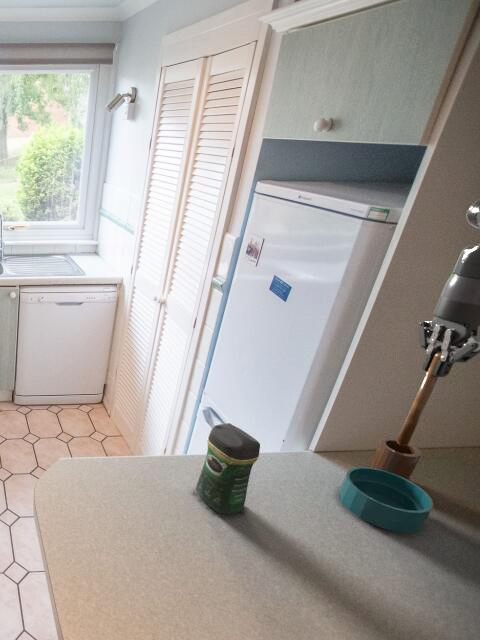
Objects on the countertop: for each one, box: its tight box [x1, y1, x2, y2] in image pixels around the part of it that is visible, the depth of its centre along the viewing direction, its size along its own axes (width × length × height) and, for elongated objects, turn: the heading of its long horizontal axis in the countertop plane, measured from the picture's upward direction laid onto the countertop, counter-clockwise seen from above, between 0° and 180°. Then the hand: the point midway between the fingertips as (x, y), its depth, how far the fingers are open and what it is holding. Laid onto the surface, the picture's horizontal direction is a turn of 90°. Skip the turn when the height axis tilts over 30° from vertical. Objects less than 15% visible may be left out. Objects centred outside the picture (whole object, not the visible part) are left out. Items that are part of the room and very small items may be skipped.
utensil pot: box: [368, 437, 422, 481], centre depth 108 cm, size 7×7×9 cm
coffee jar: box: [195, 422, 261, 515], centre depth 99 cm, size 10×8×19 cm
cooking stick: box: [396, 352, 442, 446], centre depth 101 cm, size 2×2×24 cm
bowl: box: [338, 466, 434, 534], centre depth 99 cm, size 14×14×6 cm
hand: (433, 373), depth 98 cm, fingers closed on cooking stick, 2 cm apart
